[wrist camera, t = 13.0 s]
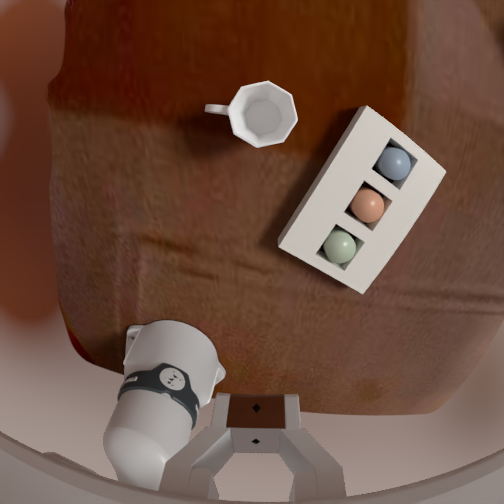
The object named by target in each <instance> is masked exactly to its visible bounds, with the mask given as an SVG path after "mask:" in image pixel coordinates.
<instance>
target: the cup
mask: <svg viewBox="0 0 504 504" xmlns="http://www.w3.org/2000/svg"><path fill="white" fill-rule="evenodd" d="M205 112H209V113H216V114H224V115H229V118H230V122H231V126H232V130H233V133H234V135H236V136H238V137H239V138H241V139H243V140H245V141H246V142H248V143H250V144H251V145H253V146H255V147H256V148H258V147H263V146H267V145H272V144H277V143H281V142H284V141H285V139H286V137H287V136H288V134H289V133H290V131H291V130H292V128H293V127H294V125H295V124H296V122H297V121H298V118H297V114H296V110H295V106H294V102H293V98H292V95H291V94H290V93H288V92H286V91H285V90H283V89H281V88H280V87H278V86H276V85H275V84H273V83H271V82H269V81H265V82H260V83H256V84H251V85H247V86H243V87H241V88H240V90H239V91H238V93H237V94H236V96H235V97H234V99H233V101H232V102H231V104H230V105H229V106H224V105H213V104H206V106H205Z"/></svg>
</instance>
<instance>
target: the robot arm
mask: <svg viewBox="0 0 504 504" xmlns="http://www.w3.org/2000/svg"><path fill="white" fill-rule="evenodd" d="M123 364H124V366H125V367H124V379H125V381H124V383H123V384H122V385H121V388H120V390H119V394H118V403H117V405H116V407H115V410H114V412H113V414H112V416H111V418H110V421H109V423H108V425H107V428H106V430H105V432H104V437H103V445H104V450H105V453H106V455H107V457H108V458H109V460H110V462H111V464H112V465H113V467H114V469H115V471H116V474H117V477H118V481H116V480H112V479H108V478H105V477H103V476H100V475H99V474H97V473H96V472H94V471H92V470H90V469H88V468H86V467H84V466H82V465H80V464H78V463H76V462H74V461H72V460H69V459H67V458H65V457H63V456H61V455H59V454H57V453H55V452H46V453H41V452H39V451H36V450H34V449H32V448H30V447H28V446H26V445H24V444H22V443H20V442H18V441H17V440H15V439H13V438H11V437H9V436H7V435H6V434H4V433H2V432H1V431H0V504H504V449H502V450H500V451H497V452H496V453H493V454H491V455H489V456H487V457H485V458H482V459H480V460H478V461H475V462H473V463H471V464H468V465H466V466H463V467H460V468H458V469H455V470H453V471H450V472H447V473H444V474H441V475H438V476H435V477H432V478H429V479H425V480H422V481H419V482H415V483H411V484H408V485H404V486H400V487H396V488H392V489H387V490H382V491H378V492H372V493H367V494H361V495H355V496H349V497H346V491H345V483H344V476H343V469H342V467H341V466H340V464H339V463H338V462H337V461H336V460H335V459H334V458H333V457H332V456H331V455H330V454H329V453H328V452H327V451H326V450H325V449H324V448H323V447H322V446H321V445H320V444H319V443H318V442H317V441H316V440H315V439H314V438H313V436H311V434H310V433H309V432H308V431H307V430H306V429H304V428H303V429H302V428H301V421H300V409H299V397H298V394H261V395H247V394H229V393H217V395H216V398H215V404H214V409H213V415H212V420H211V426H210V427H205V428H204V429H203V430H202V431H201V432H200V433H199V434H198V435H197V436H195V437H194V439H192V440H191V441H190V442H189V438H190V433H191V430H192V429H193V428H194V427H195V424H196V421H197V419H198V415H199V408H201V407H204V406H205V405H206V404H208V403H209V402H210V399H211V396H212V392H213V389H214V385H216V384H217V383H218V382H220V381H221V380H222V379H223V378H224V377H225V374H226V371H225V369H224V368H223V367H222V365H221V364H220V363H219V361H218V357H217V352H216V350H215V347H214V346H213V344H212V342H211V341H210V340H209V339H208V338H207V337H206V336H205V335H204V334H203V333H202V332H200V331H199V330H197V329H196V328H194V327H192V326H190V325H187V324H185V323H181V322H177V321H171V320H162V321H156V322H153V323H150V324H148V325H144V326H142V325H132V326H130V327H129V328H128V331H127V339H126V352H125V359H124V362H123ZM234 452H238V453H279V455H280V457H281V458H282V460H283V461H284V462H285V464H286V465H287V467H288V468H289V469H290V470H291V472H292V473H293V475H294V476H295V477H294V480H293V484H292V488H291V492H290V496H289V502H243V501H226V500H219V494H218V491H217V488H216V485H215V482H214V479H213V477H214V476H215V475H216V474H217V473H218V472H219V470H220V469H221V468H222V467H223V466H224V465H225V464H226V462H227V461H228V460H229V459H230V458H231V456H232V455H233V454H234Z"/></svg>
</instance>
